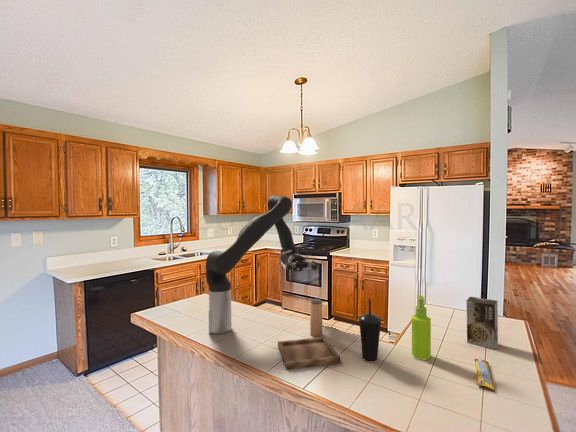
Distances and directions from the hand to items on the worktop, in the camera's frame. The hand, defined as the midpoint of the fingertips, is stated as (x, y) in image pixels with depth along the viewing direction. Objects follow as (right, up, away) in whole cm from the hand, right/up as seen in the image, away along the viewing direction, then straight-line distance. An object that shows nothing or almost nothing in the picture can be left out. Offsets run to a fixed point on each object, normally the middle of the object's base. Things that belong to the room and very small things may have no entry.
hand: (305, 268), depth 128 cm
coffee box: (+65, -25, -19) cm, 72 cm away
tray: (-1, -25, -27) cm, 37 cm away
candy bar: (+51, -25, -40) cm, 70 cm away
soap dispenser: (+38, -25, -28) cm, 53 cm away
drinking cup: (+20, -25, -29) cm, 44 cm away
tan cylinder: (+4, -25, -10) cm, 27 cm away
